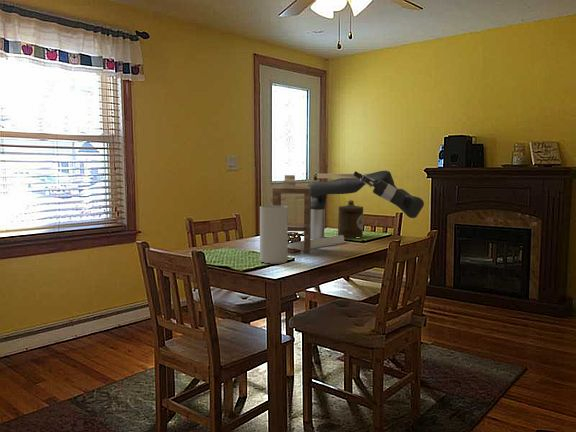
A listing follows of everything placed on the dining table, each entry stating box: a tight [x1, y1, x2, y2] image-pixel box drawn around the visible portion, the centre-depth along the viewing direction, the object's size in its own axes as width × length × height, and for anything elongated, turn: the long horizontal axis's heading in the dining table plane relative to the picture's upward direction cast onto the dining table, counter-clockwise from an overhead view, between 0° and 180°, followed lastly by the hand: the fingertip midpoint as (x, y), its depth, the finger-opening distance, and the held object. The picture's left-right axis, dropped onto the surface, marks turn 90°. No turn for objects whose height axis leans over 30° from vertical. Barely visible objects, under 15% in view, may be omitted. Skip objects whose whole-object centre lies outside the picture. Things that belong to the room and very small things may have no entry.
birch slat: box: [316, 173, 368, 179], centre depth 252 cm, size 4×24×2 cm, turn 85°
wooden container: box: [337, 199, 364, 239], centre depth 307 cm, size 15×15×22 cm
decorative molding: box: [288, 235, 346, 251], centre depth 278 cm, size 34×5×10 cm
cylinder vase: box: [259, 204, 289, 265], centre depth 232 cm, size 12×12×25 cm
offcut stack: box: [282, 174, 296, 187], centre depth 262 cm, size 4×6×6 cm
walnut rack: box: [272, 186, 312, 255], centre depth 260 cm, size 16×18×32 cm
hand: (354, 173), depth 251 cm, fingers closed on birch slat, 4 cm apart
